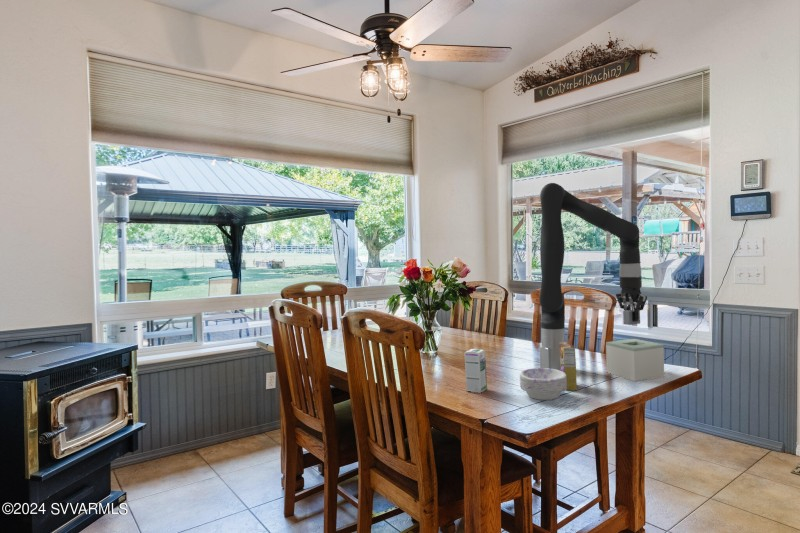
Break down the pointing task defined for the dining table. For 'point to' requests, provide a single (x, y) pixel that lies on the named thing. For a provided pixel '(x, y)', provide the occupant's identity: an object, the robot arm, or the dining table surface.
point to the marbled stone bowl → (543, 383)
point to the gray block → (629, 317)
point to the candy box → (568, 364)
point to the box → (635, 359)
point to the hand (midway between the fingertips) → (631, 320)
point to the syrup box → (475, 370)
